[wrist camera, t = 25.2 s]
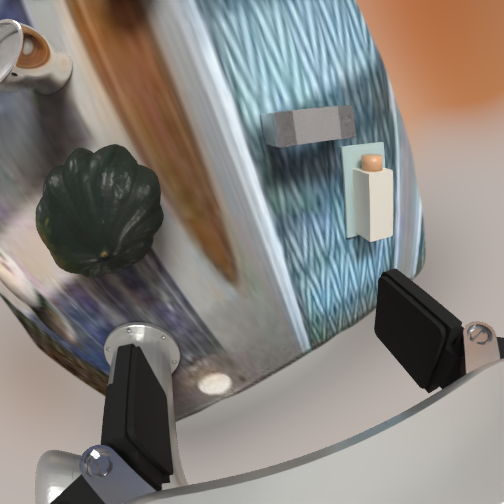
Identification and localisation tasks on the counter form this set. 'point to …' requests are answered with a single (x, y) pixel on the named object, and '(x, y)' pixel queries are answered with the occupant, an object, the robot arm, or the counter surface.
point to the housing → (308, 125)
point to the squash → (99, 211)
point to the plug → (373, 198)
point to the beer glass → (30, 60)
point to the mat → (350, 162)
